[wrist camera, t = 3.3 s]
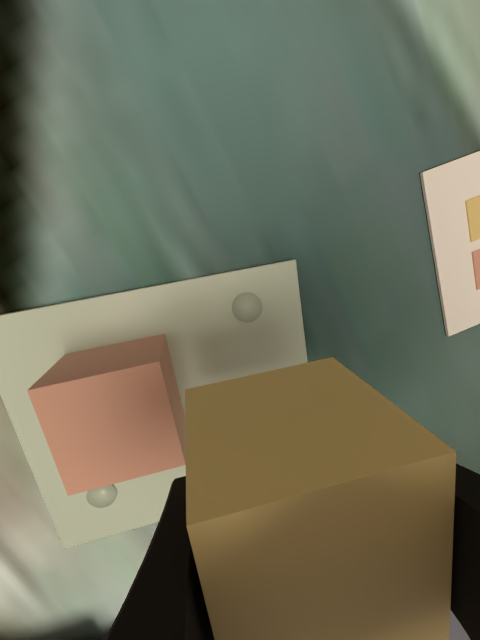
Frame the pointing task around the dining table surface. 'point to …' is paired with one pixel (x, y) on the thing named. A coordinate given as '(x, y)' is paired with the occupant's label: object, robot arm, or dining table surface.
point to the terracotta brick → (111, 413)
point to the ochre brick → (317, 509)
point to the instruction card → (455, 238)
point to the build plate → (187, 359)
